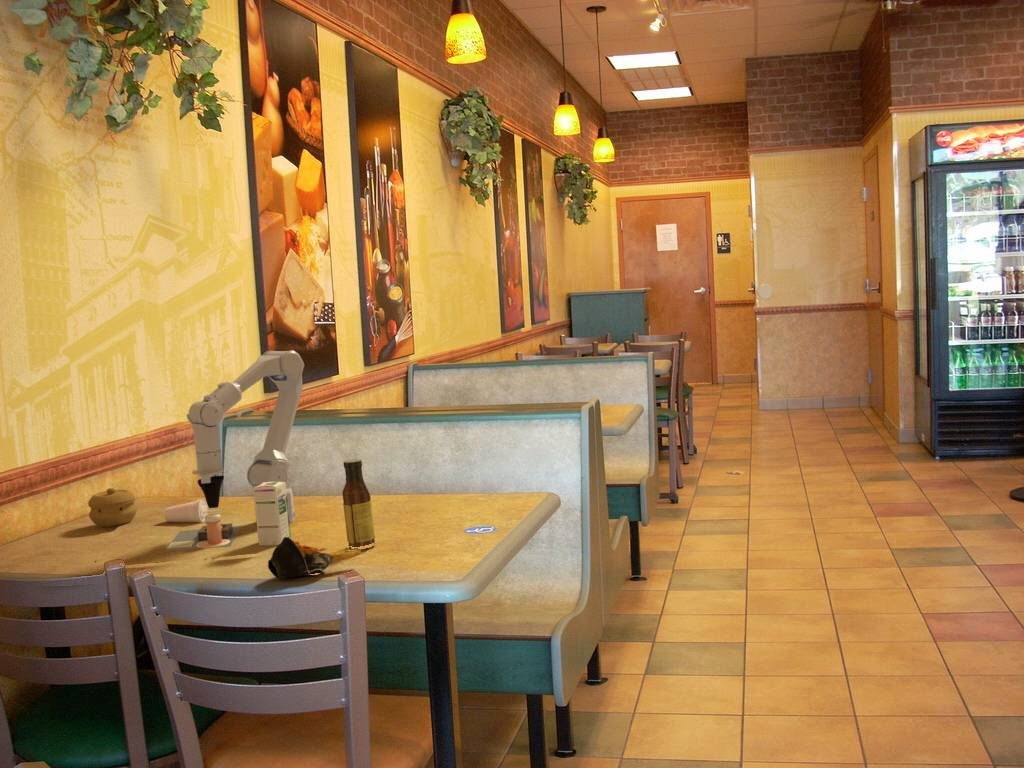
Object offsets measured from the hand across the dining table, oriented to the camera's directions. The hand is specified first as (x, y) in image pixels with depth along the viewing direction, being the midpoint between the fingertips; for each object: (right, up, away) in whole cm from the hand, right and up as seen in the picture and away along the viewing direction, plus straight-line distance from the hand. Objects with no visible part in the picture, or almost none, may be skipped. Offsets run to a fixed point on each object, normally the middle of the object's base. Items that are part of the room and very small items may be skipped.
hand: (213, 507), depth 255 cm
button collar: (0, -8, +1) cm, 8 cm away
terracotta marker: (+2, -8, -7) cm, 10 cm away
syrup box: (+17, -8, -8) cm, 20 cm away
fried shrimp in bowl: (+31, -10, -35) cm, 48 cm away
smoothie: (-18, -4, +20) cm, 27 cm away
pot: (-32, -8, +23) cm, 41 cm away
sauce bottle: (+37, -7, -15) cm, 41 cm away
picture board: (-2, -8, -1) cm, 8 cm away
